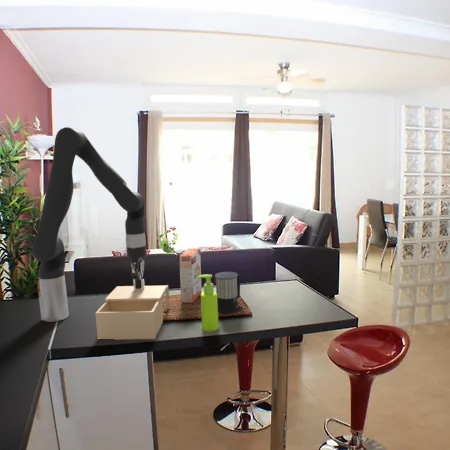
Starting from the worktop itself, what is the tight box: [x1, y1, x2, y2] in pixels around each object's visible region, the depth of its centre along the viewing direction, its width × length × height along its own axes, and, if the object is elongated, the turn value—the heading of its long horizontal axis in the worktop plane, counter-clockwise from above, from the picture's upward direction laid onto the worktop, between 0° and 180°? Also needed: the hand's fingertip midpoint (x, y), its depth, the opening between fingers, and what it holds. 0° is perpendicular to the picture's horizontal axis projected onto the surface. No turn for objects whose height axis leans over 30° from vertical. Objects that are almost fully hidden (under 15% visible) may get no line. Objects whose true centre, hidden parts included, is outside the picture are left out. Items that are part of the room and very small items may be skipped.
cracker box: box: [179, 248, 202, 304], centre depth 173 cm, size 14×6×21 cm, turn 168°
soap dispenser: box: [197, 274, 219, 333], centre depth 141 cm, size 6×7×20 cm
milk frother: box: [214, 271, 241, 315], centre depth 162 cm, size 14×16×15 cm
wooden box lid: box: [104, 278, 168, 302], centre depth 152 cm, size 20×14×5 cm
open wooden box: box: [95, 284, 170, 341], centre depth 149 cm, size 20×28×10 cm
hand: (139, 287), depth 155 cm, fingers closed
